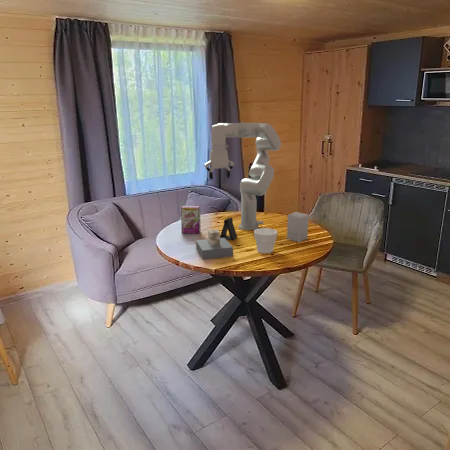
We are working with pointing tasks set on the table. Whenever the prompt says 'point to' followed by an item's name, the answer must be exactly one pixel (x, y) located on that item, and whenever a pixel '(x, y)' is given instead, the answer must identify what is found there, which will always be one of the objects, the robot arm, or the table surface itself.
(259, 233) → the cup
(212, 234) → the cream block
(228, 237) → the phone stand
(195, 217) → the candy bar box
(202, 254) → the slate block
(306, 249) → the table surface
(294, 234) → the supplement box
